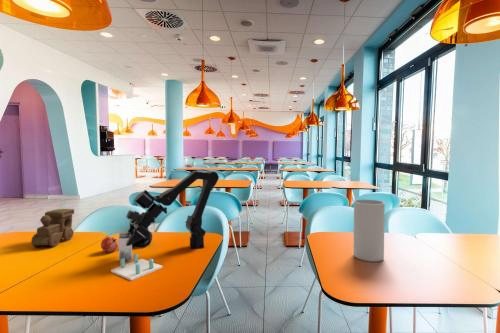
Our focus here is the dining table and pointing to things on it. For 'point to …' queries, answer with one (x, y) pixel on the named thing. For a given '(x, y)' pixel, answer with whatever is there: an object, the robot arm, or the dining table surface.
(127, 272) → the tray
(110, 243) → the pomegranate
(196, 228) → the robot arm
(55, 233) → the wooden toy train
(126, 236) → the shaker
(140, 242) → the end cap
